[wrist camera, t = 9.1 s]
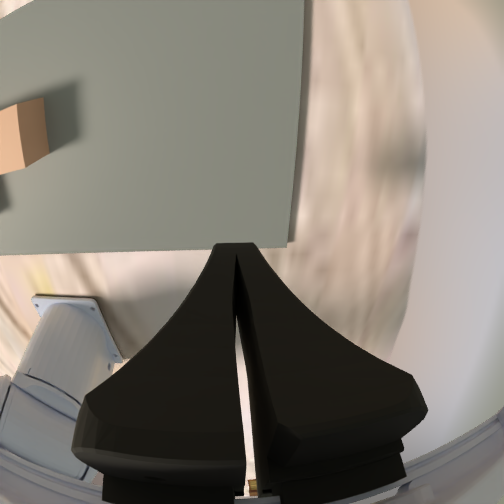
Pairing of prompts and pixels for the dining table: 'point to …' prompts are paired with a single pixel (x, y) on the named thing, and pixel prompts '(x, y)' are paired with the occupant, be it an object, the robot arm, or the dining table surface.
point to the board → (153, 124)
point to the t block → (22, 135)
